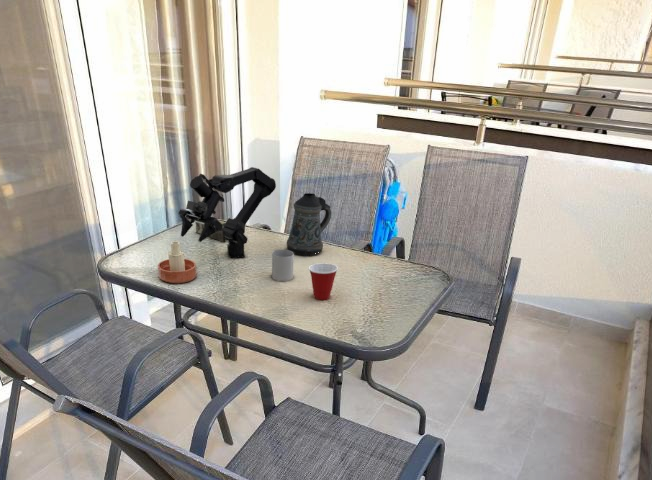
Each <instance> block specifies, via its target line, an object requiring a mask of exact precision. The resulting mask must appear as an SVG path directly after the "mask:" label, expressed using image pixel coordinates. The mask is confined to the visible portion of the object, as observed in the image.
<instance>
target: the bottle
mask: <svg viewBox="0 0 652 480" xmlns="http://www.w3.org/2000/svg"><path fill="white" fill-rule="evenodd" d="M180 243H181V242H180V241H176V240H175V241H171V242H170V251H168V259H169V265H170V271H174V272H177V271H185V262H184V259H185V252H184V251H182V250H181V244H180Z"/></svg>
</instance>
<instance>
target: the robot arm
mask: <svg viewBox="0 0 652 480" xmlns="http://www.w3.org/2000/svg"><path fill="white" fill-rule="evenodd" d="M250 181H252V182H253V183H254V184H253V191H252V193H251V194H250V196H249V197H248V199H247V200H246V201H245V203H244V204H243V206H242V207H241V208H240V210H239V212H238V213H237V215H236V216H235V217H234V218H230V217H229V218H228V219H227V220H226V221H225V222H224V223H225V224H224V225H223V226H224V227H223V229H222V224H221V223H220V222H221V221H220V220H219V219H218V218H217V217H214V216H212V215H216V213H217V212H216V208H217V206H218V205H219V203H221V202H222V203H224V202H225V198H224V194H228V193H230V191H231V192H232V190H234V188H235V187H236V186H239V185H241V184H244V183H247V182H248V183H249V182H250ZM189 187H190V188H191V189H192V190H193V192H195V194H196V195H198V196H199V197H200V198H202V200H201V201H198V202H195V201H191V200H187V203H186V207H185V208H181V209H180V210H179V211H178V213H177V215H178V216H179V218H181V229H180V230H181V231H180V236H181V237H182V238H183V237H184V236H186V234H187V233H188V232H189V231H190V230H191V228H192V227H193V226H194V224H195V222H197V221H198V222H201V223H204V229H203V231H202V233H201V234H200V235H199V237H198V240H197V241H198V242H199V243H202V242H203V241H204V240H205V239H207V238H210V237H209V236H210V235H212V234H214V233H217V232H218V231H219V232H220V231H221V229H222V231H223V236H224V237H225V240H224V241H227V243H228V244H227V245H226V248H227V249H226V250H227V251H226V253H227V255H228V257H229V258H230V259H239V258H241V259H242V258H246V255H245V244H247V243H248V239H249V238H248V237H247V236H246V234H245V231H246V225H247V223H248V222H249V220H250V219H251V217H252V216H253V214H254V213H255V211H256V210H257V208H258V207H259V206H260V205H261V202H262V201H263V200H264V199H265V198H267V197H269V196H271V194H273V192H274V191H275V190H276V189H277V188H276V187H277V183H276V180H275V179H274V178H273V177H270V176H269V175H268V174H266V173H264V172H263V170H261V169H260V168H258V167H254V166H251V167H248V168H247V169H243V170H240V171H237V172H234V173H231V174H216V175H215V174H214V175H213V176H212V178H210V179H209V178H207V176H206V175H205V174H204V173H199V175H197V176H195V177H193V178H192V179H191V181H190V183H189ZM219 192H220V193H219ZM221 193H224V194H221Z"/></svg>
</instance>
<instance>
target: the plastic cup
mask: <svg viewBox="0 0 652 480" xmlns="http://www.w3.org/2000/svg"><path fill="white" fill-rule="evenodd" d="M308 270H309V273H310V277H311V285H312V292H313V297H314V299H316V300H317V301H327V300H329V299H330V297H331V293H332V290H333V286H334V283H335V277H336V274H337V272H338V270H339V267H338V266H337V265H336V264H333V263H329V262H328V263H326V262H321V263H320V262H317V263H313V264H311V265H309V266H308Z"/></svg>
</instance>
